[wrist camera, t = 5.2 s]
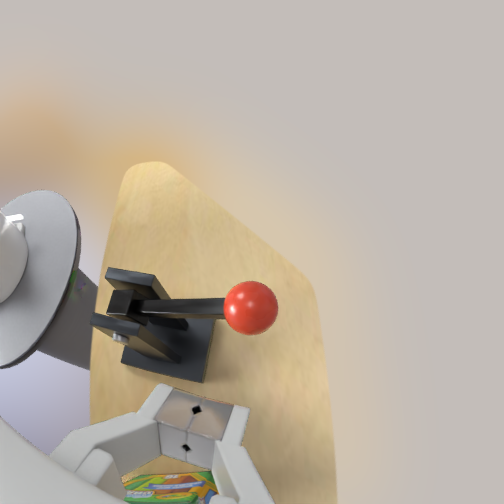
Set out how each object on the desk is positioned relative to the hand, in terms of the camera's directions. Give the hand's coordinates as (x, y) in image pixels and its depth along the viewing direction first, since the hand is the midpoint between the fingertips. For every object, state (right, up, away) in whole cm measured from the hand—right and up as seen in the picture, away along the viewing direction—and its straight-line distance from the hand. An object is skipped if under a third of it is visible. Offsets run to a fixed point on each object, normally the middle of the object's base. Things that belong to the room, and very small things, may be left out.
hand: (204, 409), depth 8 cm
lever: (-3, 0, +12) cm, 12 cm away
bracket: (-8, -6, +24) cm, 26 cm away
